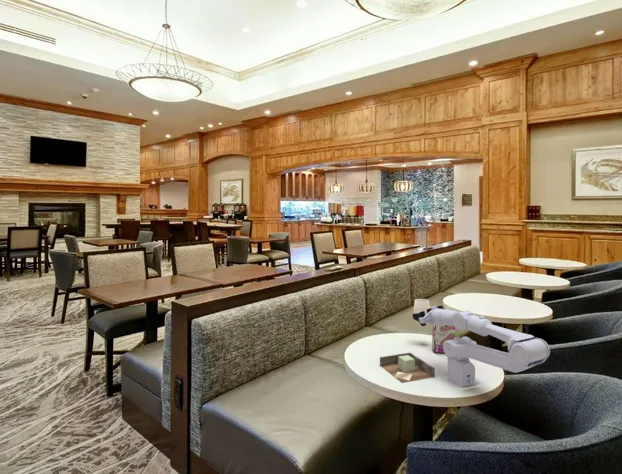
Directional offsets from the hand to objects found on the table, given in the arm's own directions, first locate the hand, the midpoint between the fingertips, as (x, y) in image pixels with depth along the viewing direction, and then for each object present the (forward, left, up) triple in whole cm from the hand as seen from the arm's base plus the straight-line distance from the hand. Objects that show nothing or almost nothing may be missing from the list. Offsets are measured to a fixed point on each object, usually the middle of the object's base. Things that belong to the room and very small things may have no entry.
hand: (420, 314), depth 156 cm
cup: (+15, -11, -20) cm, 27 cm away
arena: (-8, +12, -20) cm, 24 cm away
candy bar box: (+4, -16, -20) cm, 26 cm away
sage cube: (-6, +11, -19) cm, 23 cm away
